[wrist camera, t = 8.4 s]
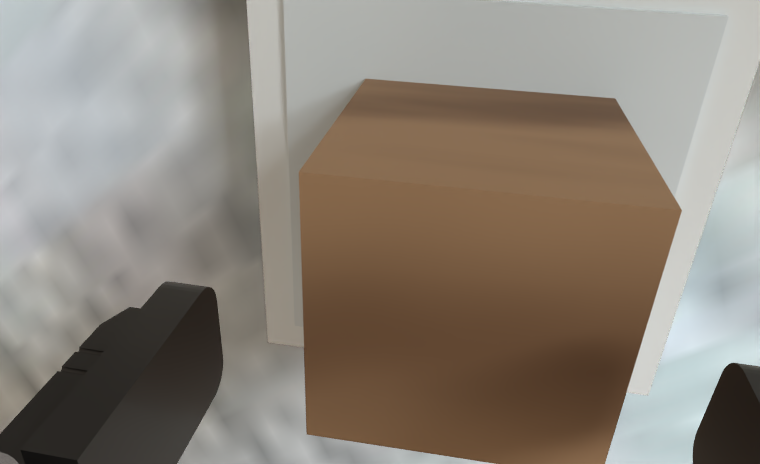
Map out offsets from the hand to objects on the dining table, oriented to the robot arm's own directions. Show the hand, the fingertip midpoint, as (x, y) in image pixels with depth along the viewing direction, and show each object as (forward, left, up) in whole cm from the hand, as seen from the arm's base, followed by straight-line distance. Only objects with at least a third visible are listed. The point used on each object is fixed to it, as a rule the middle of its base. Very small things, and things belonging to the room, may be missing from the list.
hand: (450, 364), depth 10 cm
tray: (0, 0, -10) cm, 10 cm away
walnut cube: (0, 0, -7) cm, 7 cm away
